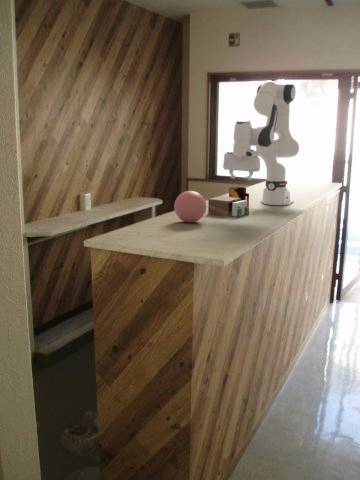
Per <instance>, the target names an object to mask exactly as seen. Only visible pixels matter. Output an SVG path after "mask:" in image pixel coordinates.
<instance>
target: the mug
mask: <svg viewBox="0 0 360 480" xmlns="http://www.w3.org/2000/svg"><path fill="white" fill-rule="evenodd" d="M228 197H234V198H241V201H242V200H247V207H249V208H250V206H249V205H250V193H247V187H242V186H230V187H229V189H228Z"/></svg>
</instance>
